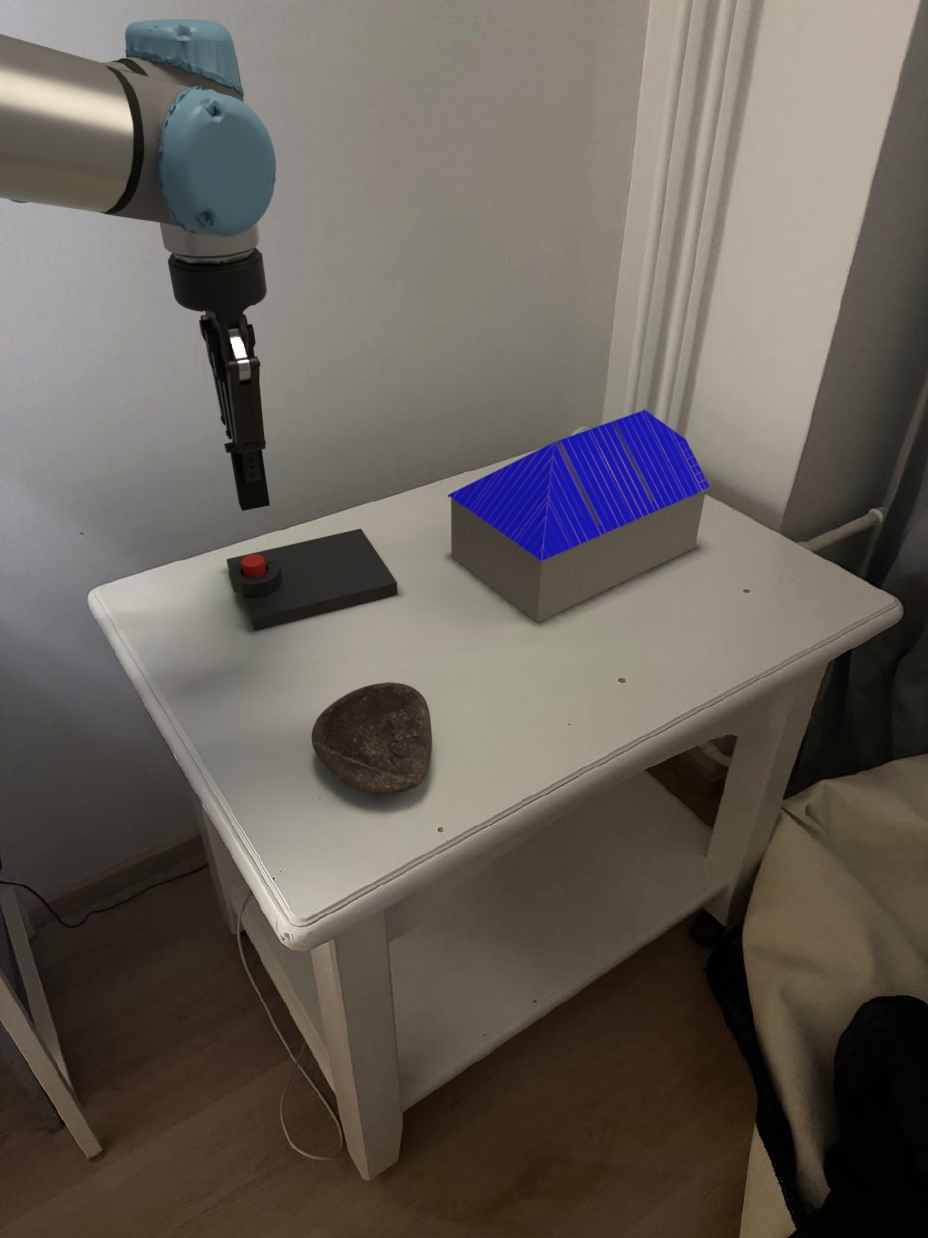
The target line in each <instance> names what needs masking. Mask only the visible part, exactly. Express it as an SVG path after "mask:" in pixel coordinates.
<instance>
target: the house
mask: <svg viewBox="0 0 928 1238" xmlns="http://www.w3.org/2000/svg"><path fill="white" fill-rule="evenodd" d="M707 490H711V486H710V483H709V482H708V480H707V478H706V475H705V474H704V472H703V470H702V468H701V466H700V464H699V462H698V460H697V458H696V456H695V453H694V451H693V450H692V448H691V446H690V444H689V442H688V440H687V439H686V438H685V437H683V436H682V435H681V434H679V433H678V432H676V430H674V429H673V428H671V427H669V426H668V425H667V424H666V423H664V422H663V421H661V420H660V419H658V418H657V417H656V416H654V415H653V414H652V413H650V412H649V411H648V410H646V409H645V408H643V410H640V411H637V412H634V413H632V414H628V415H626V416H624V417H620V418H617V419H614V420H612V421H610V422H609V421H608V422H607V423H603V424H601V425H598V426H596V427H592V428H590V429H587V430H584V431H581V432H577V433H575V434H572V435H569V436H567V437H565V438H561V439H559V440H556V441H553V442H551V443H550V444H547V445H545V446H543V447H541V448H539V449H537V450H535V451H533V452H531V453H528V454H527V455H525V456H523V457H521V458H519V459H517V460H515V461H513V462H511V463H509V464H507V465H505V466H503V467H501V468H498V469H497V470H495V471H493V472H490V473H488V474H487V475H485V476H483V477H481V478H479V479H476V480H474V481H473V482H470V483H469V484H467V485H465V486H462V487H461V488H458V489H456V490H455V491H453V492H450V493H448V494H447V498H450V514H451V515H450V519H451V520H450V527H451V528H450V532H451V533H450V535H451V539H450V541H451V544H450V545H451V548H450V550H451V551H450V552H451V555H450V556H451V557H452V558H453V559H454V560H455V561H457V562H458V563H459V564H461V565H462V566H463V567H465V568H466V569H467V570H469V571H470V572H471V573H472V574H474V576H476V577H477V578H479V579H480V580H481V581H483V582H484V583H485V584H487V585H488V586H489V587H490V588H492V589H493V590H494V591H496V592H497V593H498V594H499V595H501V596H502V597H503V598H505V599H506V600H508V602H510V603H511V604H512V605H514V606H515V607H516V608H518V609H519V610H520V611H521V612H523V613H524V614H525V615H527V616H528V617H529V618H531V619H532V620H533V621H534V622H535V623H540V622H542V621H544V620H546V619H548V618H550V617H552V616H555V615H556V614H558V613H561V612H563V611H565V610H567V609H569V608H571V607H574V606H575V605H577V604H580V603H581V602H583V601H586V600H588V599H590V598H592V597H594V596H596V595H599V594H600V593H602V592H605V591H607V590H609V589H611V588H613V587H615V586H617V585H620V584H621V583H622V584H623V582H626V581H628V580H630V579H632V578H634V577H636V576H638V575H640V574H643V573H645V572H646V571H648V570H652V569H653V568H655V567H657V566H659V565H661V564H663V563H666V562H668V561H670V560H671V559H674V558H676V557H678V556H680V555H682V554H684V553H686V552H688V551H691V550H693V549H695V548H696V545H697V543H696V542H697V538H698V533H699V529H700V523H701V520H702V519H701V518H702V514H703V509H704V508H703V507H704V504H705V498H706V492H707Z"/></svg>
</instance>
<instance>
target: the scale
mask: <svg viewBox="0 0 928 1238" xmlns="http://www.w3.org/2000/svg"><path fill="white" fill-rule="evenodd" d="M252 554H258V555H261V556H263V557H264V560H265V566H266V573H265V574H264V575H262V576H259V577H255V578H250V577H245V576H244V573H243V568H242V559H243V558H244V557H246V556H248V555H252ZM226 564H227V569H228V576H229V582H230V586H231V588H232V591H233V592H234V593H235V594H237V595H238V597H239V599H240V602H241V603H242V606H243V609H244V611H245V614H246V616H247V618H248V620H249V623H250V625H251V627H252V629H253V630H252V631H254V632H257V631H260V630H265V629H268V628H272V627H277V626H279V625H284V624H288V623H292V622H296V621H300V620H304V619H308V618H311V617H315V616H319V615H323V614H327V613H331V612H335V611H338V610H342V609H346V608H350V607H354V606H358V605H362V604H366V603H370V602H374V601H377V600H381V599H386V598H389V597H393V596H396V595H398V582H397V580H396V578H395V577H394V575H393V573H392V572H391V571H390V569H389V568H388V567H387V565H386V563H385V562H384V561H383V559H382V558H381V556H380V554H379V553H378V552H377V550H376V549H375V547H374V545H373V544H372V543H371V541H370V540H369V539H368V536H366V534H365V532H364V531H363V529H362V528H357V529H352V530H347V531H343V532H340V533H335V534H331V535H326V536H322V537H319V538H313V539H309V540H305V541H299V542H296V543H291V544H287V545H281V546H277V547H273V548H268V549H265V550H261V551H256V552H252V553H247V554H243V555H237V556H234V557H229V558H226Z"/></svg>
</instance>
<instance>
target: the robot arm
mask: <svg viewBox="0 0 928 1238" xmlns="http://www.w3.org/2000/svg"><path fill="white" fill-rule="evenodd" d="M124 40H125V50H124V52H125V57H122V58H119V59H117V60H111V61H107V62H105V61H104V62H100V61H97V60H93V59H89V58H86V57H84V56H83V57H82V56H80V55H76V54H72V53H69V52H65V51H62V50H58V49H54V48H51V47H48V46H44V45H41V44H37V43H34V42H31V41H26V40H23V39H20V38H16V37H12V36H9V35H5V34H3V33H0V199H5V200H9V201H11V202H13V203H17V204H28V203H32V204H38V205H44V206H45V205H46V206H52V207H58V208H59V207H60V208H66V209H72V210H78V211H79V210H80V211H86V212H92V213H100V214H104V215H108V216H112V217H113V216H114V217H118V218H119V217H120V218H128V219H133V220H139V221H147V222H153V223H159V227H160V232H161V238H162V239H161V240H162V244H163V247H164V248H165V250H166V251H168V252H169V253H171V254H170V255H169V257H168V259H167V265H168V271H169V276H170V281H171V286H172V292H173V296H174V297H173V298H174V299H175V301H176V303H177V304H178V305H179V306H181V307H182V308H185V309H187V310H189V311H194V312H199V313H203V312H204V314H201V315H200V319H199V320H198V323H199V329H200V330H199V331H200V334H201V337H202V339H203V340H204V342H205V347H206V351H207V358H208V363H209V365H210V368H211V372H212V376H213V381H214V386H215V391H216V396H217V401H218V407H219V412H220V421H221V423H222V425H223V426H225V436H226V437H227V438H228V440H229V442H227V443H223V444H224V446H223V447H224V450H225V453H226V454H230V459H231V460H230V461H231V465H232V471H233V477H234V484H235V488H236V489H235V490H236V494H237V499H238V505H239V507H240V509H241V511H242V512H244V511H249V510H255V509H260V508H264V507H268V506H271V503H270V496H269V489H268V483H267V475H266V469H265V462H264V455H263V450H266V448H267V447H266V445H267V442H266V439H265V427H264V426H265V425H264V417H263V406H262V395H261V394H262V393H261V385H260V378H261V376H260V374H261V370H260V369H261V368H260V367H261V361H260V359H259V358H258V356H257V355H255V349H254V348H255V346H256V344H257V343H256V342H257V341H256V336H255V330H254V326H253V323H249V322H248V318H247V315H246V314H245V313H244V312H245V311H246V310H247V309H248V308H250V307H251V306H256V305H258V304H260V303H261V302H262V301H263V300H264V299H265V298H266V296H267V293H268V289H267V281H266V272H265V264H264V257H263V256H264V255H263V253H262V252H260V250H259V249H258V248H257V246H258V245H259V244H260V241H261V239H260V231H259V224H258V222H259V221H260V220H261V219H262V218H263V216H264V215H265V214H266V212H267V211H268V208H269V206H270V204H271V201H272V199H273V197H274V193H275V192H274V191H275V183H276V180H277V179H276V173H277V158H276V152H275V148H274V147H275V146H274V144H273V141H272V138H271V136H270V133H269V131H268V129H267V126H266V125H265V124H264V122H263V121H262V119H261V118H260V117H259V115H258V114H257V113H256V111H255V110H253V108H251V106H250V105H248V104H246V102H244V98H245V90H244V88H243V85H242V80H241V74H240V73H241V72H240V69H239V62H238V56H237V53H236V47H235V43H234V40H233V36H232V35H231V33H230V32H229V30H228V29H227V27H226V26H224V25H222V24H221V23H219V22H217V21H214V20H207V19H195V18H194V19H190V18H184V19H183V18H168V19H167V18H165V19H149V20H143V21H134V22H131V23H130V24H128V25H127V26H126V28H125V31H124ZM230 440H231V441H230Z"/></svg>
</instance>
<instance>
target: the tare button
mask: <svg viewBox="0 0 928 1238" xmlns="http://www.w3.org/2000/svg"><path fill="white" fill-rule="evenodd" d="M242 568H243V573H244V576H245V577H250V578H255V577H259V576H262V575H264V574H265V573H266V566H265V560H264V557H263V556H261V555H258V554H252V555H248V556H246V557H244V558H243V559H242Z"/></svg>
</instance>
